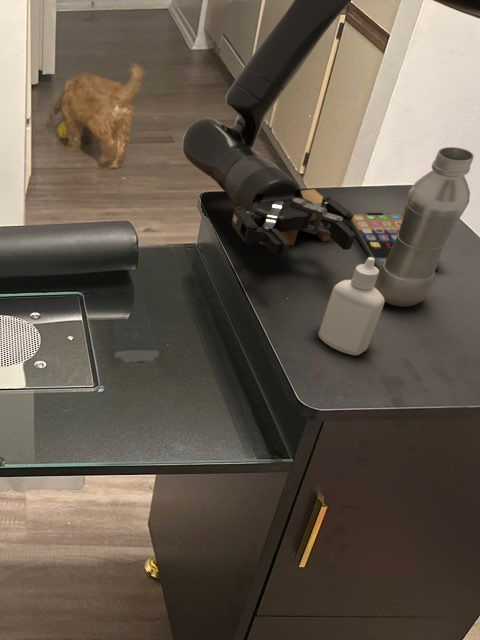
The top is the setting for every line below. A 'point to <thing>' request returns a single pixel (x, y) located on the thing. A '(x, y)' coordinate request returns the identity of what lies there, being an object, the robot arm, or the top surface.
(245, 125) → the robot arm
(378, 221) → the smartphone
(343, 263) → the top surface
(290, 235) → the small wooden table
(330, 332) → the eye dropper bottle
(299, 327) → the top surface
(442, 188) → the plastic bottle
